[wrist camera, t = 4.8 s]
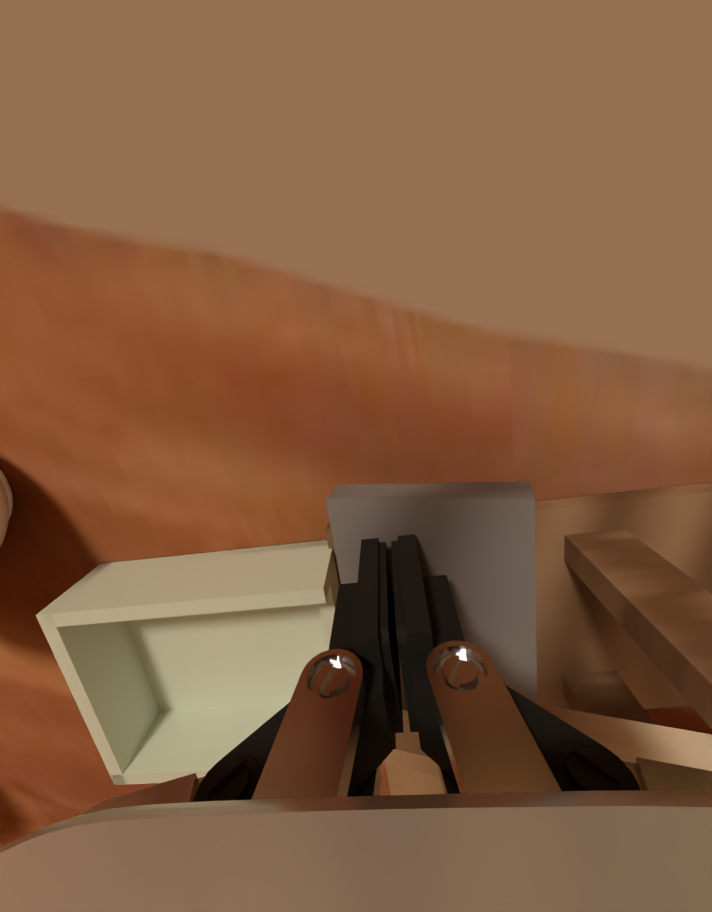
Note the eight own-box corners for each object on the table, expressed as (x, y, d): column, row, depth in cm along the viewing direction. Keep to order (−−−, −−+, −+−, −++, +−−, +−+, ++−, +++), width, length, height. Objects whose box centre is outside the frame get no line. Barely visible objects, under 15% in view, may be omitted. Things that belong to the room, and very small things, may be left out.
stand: (878, 464, 18) (1701, 660, 7) (820, 682, 22) (1289, 1039, 11) (327, 524, 21) (269, 738, 10) (362, 710, 25) (350, 1022, 13)
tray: (334, 539, 21) (323, 588, 17) (363, 698, 25) (360, 773, 20) (100, 563, 23) (35, 615, 18) (157, 712, 26) (114, 784, 22)
